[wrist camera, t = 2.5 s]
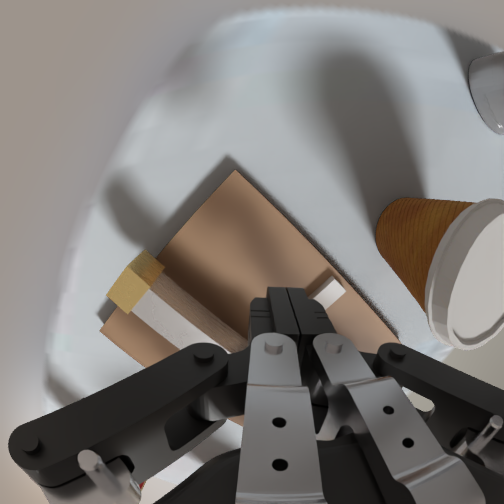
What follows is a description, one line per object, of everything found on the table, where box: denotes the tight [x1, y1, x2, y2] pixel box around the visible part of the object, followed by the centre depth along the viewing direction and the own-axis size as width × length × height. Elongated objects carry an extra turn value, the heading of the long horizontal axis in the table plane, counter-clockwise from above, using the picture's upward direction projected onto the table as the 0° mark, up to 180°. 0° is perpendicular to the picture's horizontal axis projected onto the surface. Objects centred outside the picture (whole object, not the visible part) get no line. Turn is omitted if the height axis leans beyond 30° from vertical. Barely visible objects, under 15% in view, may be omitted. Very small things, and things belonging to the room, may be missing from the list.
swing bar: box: [106, 250, 248, 354], centre depth 20 cm, size 15×4×4 cm, turn 46°
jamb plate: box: [100, 170, 401, 426], centre depth 22 cm, size 20×24×6 cm
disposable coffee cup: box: [376, 198, 504, 350], centre depth 16 cm, size 10×10×12 cm
